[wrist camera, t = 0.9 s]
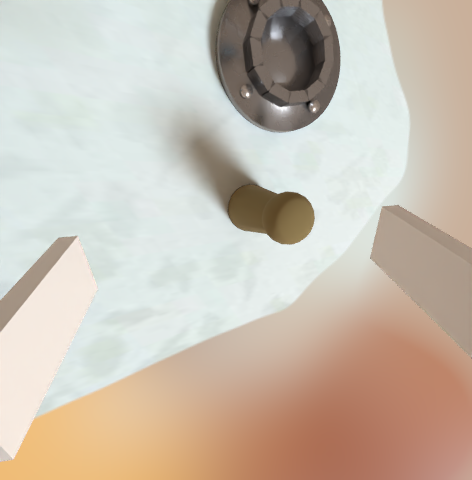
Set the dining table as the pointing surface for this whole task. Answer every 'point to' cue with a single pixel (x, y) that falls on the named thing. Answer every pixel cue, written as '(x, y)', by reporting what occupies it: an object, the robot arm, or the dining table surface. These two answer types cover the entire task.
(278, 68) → the flange
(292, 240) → the cork
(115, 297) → the dining table surface
